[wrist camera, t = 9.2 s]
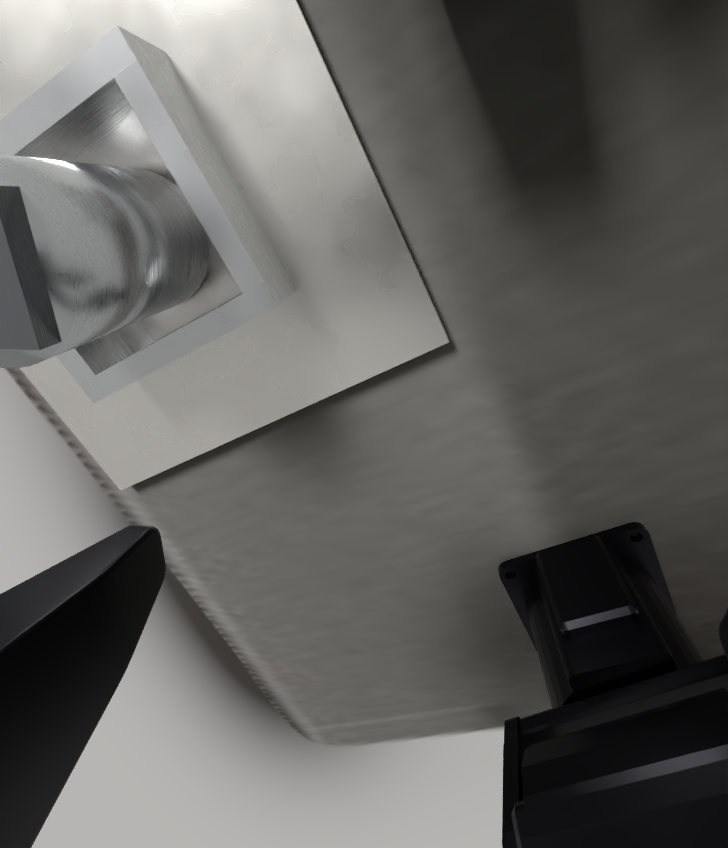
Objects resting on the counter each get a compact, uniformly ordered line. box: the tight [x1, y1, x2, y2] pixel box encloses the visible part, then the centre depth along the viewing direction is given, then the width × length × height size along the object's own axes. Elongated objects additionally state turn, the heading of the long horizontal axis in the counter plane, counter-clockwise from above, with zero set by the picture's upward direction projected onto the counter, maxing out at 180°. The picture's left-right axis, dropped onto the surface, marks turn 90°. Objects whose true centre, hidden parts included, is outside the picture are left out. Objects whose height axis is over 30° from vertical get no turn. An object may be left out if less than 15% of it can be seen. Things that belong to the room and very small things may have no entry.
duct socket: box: [0, 0, 449, 490], centre depth 16 cm, size 16×16×3 cm
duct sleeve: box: [0, 154, 209, 368], centre depth 13 cm, size 5×5×8 cm
